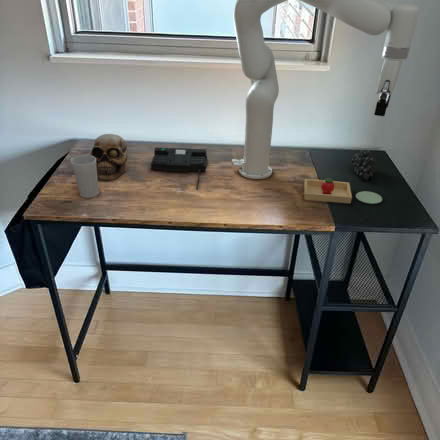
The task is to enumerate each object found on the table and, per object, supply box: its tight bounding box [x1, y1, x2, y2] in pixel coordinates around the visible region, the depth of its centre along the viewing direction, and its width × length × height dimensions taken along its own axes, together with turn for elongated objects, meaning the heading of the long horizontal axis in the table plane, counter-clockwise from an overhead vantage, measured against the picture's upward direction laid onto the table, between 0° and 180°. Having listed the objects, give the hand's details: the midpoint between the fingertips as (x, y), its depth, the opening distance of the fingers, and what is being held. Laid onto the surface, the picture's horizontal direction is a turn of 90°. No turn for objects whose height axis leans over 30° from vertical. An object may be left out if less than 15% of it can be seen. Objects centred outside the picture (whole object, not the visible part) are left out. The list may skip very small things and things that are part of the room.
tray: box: [303, 178, 353, 204], centre depth 155 cm, size 16×12×3 cm
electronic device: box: [150, 147, 208, 190], centre depth 168 cm, size 21×30×5 cm
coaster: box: [355, 190, 383, 204], centre depth 155 cm, size 9×9×1 cm
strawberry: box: [321, 177, 334, 195], centre depth 154 cm, size 4×4×5 cm
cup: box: [70, 154, 100, 199], centre depth 149 cm, size 8×8×12 cm
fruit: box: [351, 149, 376, 182], centre depth 167 cm, size 9×8×15 cm
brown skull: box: [89, 133, 129, 182], centre depth 166 cm, size 16×17×13 cm
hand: (380, 111), depth 146 cm, fingers open, 9 cm apart
